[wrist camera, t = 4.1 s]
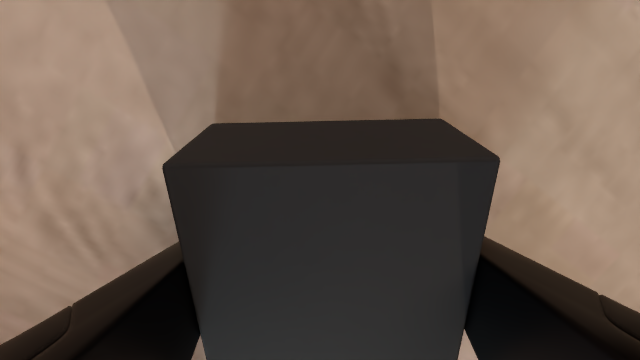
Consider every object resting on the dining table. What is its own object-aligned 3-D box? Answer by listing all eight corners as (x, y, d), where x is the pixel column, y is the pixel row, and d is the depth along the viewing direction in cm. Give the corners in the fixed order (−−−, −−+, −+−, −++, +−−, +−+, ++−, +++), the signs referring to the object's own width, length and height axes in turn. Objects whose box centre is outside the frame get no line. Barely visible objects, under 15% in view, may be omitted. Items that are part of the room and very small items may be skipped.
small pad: (442, 117, 8) (503, 157, 6) (419, 296, 11) (453, 385, 8) (210, 123, 8) (158, 164, 6) (238, 300, 11) (212, 390, 8)
